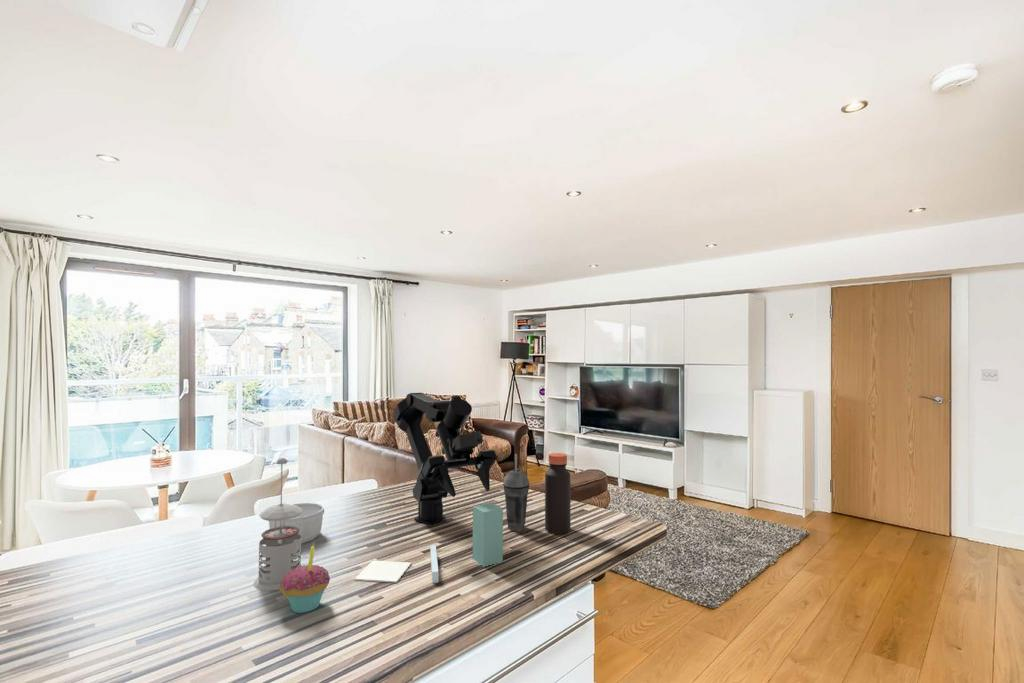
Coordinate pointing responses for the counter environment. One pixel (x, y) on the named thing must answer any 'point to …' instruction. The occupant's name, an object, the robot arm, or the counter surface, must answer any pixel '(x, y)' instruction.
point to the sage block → (487, 534)
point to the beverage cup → (516, 497)
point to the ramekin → (304, 521)
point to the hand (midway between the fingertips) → (471, 493)
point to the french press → (277, 556)
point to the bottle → (557, 495)
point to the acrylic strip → (434, 564)
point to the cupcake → (305, 585)
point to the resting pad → (383, 571)
